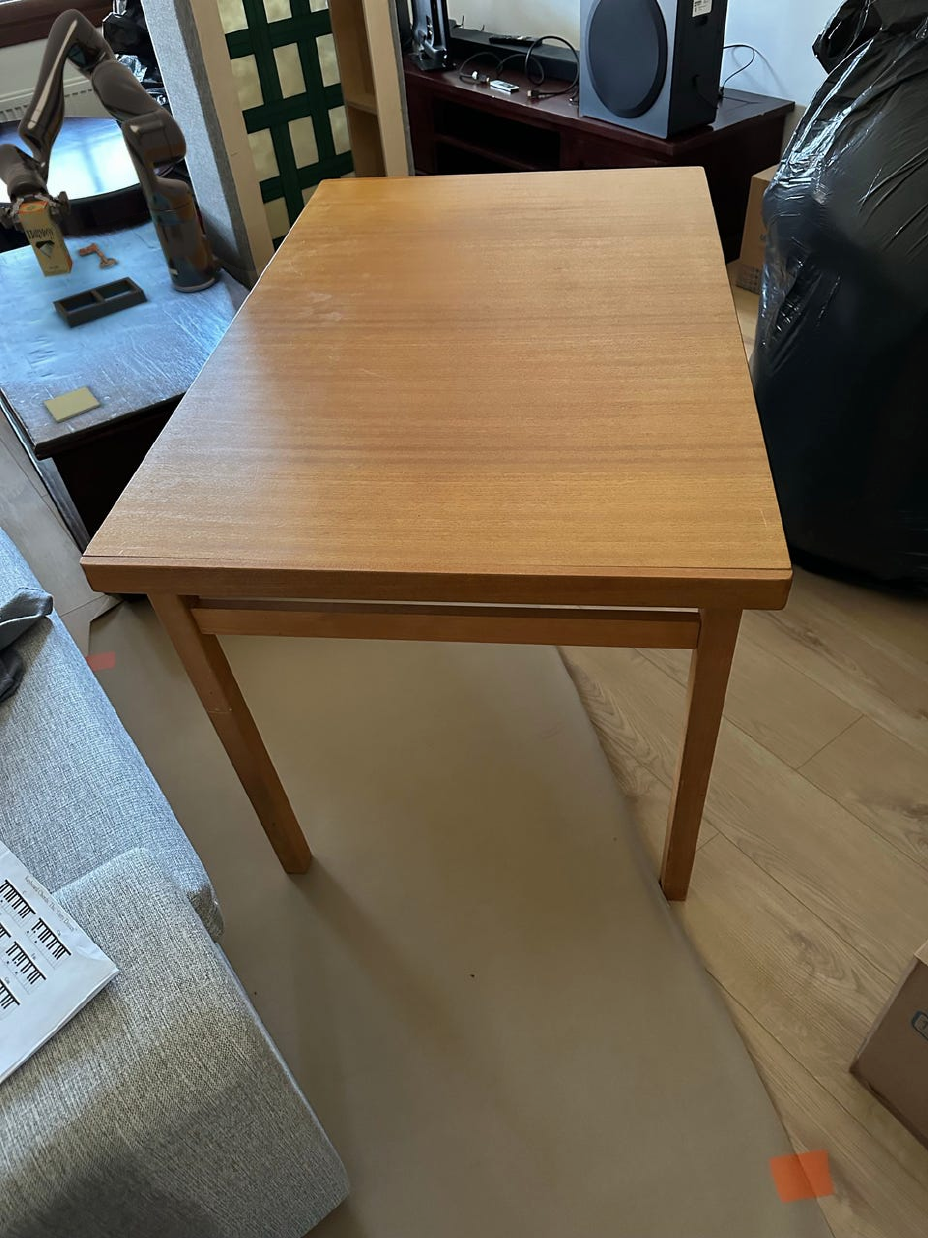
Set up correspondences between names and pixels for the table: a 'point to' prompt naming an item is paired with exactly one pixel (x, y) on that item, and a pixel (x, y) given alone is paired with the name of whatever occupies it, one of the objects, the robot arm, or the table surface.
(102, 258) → the key
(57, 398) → the mat
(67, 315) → the holder
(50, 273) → the shoe polish box
